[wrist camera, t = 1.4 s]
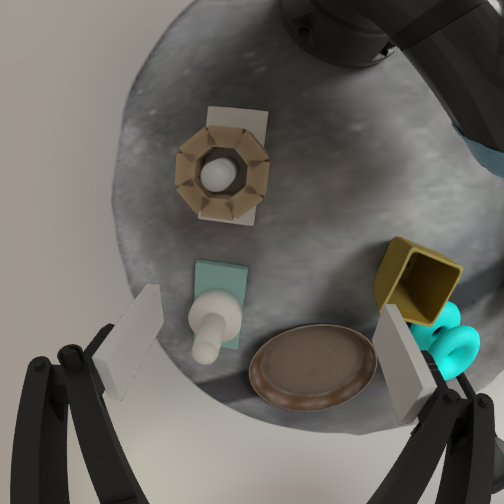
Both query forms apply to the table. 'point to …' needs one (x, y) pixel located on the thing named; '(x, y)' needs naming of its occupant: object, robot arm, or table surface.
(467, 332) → the donuts
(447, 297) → the flower pot
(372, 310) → the table surface
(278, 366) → the plant saucer
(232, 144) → the ring
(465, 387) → the solar garden light
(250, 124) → the rod stand
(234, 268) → the hub stand
